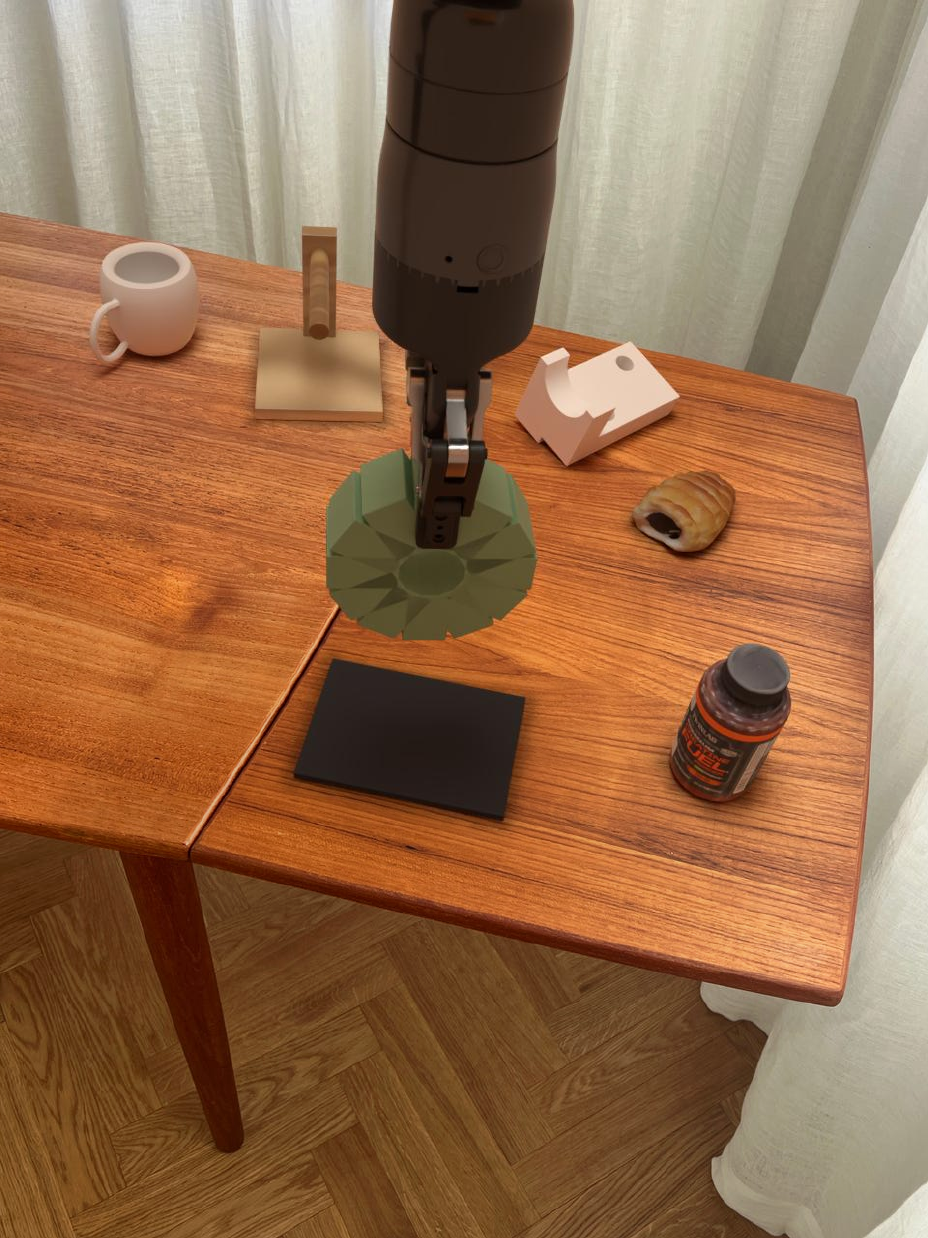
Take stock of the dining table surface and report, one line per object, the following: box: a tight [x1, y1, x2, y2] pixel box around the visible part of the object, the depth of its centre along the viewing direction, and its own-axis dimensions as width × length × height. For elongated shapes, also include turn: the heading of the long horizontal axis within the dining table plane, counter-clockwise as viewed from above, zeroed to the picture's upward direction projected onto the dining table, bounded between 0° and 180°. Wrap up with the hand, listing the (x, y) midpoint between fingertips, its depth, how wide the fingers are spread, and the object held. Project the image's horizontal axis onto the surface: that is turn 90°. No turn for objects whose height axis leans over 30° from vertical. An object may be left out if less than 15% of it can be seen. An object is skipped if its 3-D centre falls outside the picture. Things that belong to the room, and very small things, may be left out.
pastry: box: [632, 470, 737, 553], centre depth 92 cm, size 9×7×4 cm
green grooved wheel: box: [325, 447, 538, 641], centre depth 63 cm, size 4×12×12 cm, turn 95°
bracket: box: [513, 340, 681, 467], centre depth 98 cm, size 13×7×8 cm, turn 130°
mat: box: [293, 657, 526, 822], centre depth 76 cm, size 14×10×1 cm
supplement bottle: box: [669, 642, 792, 803], centre depth 72 cm, size 6×6×11 cm
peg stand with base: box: [254, 225, 384, 423], centre depth 97 cm, size 13×11×12 cm
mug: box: [88, 241, 200, 365], centre depth 99 cm, size 12×8×8 cm
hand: (432, 513), depth 61 cm, fingers closed on green grooved wheel, 4 cm apart
